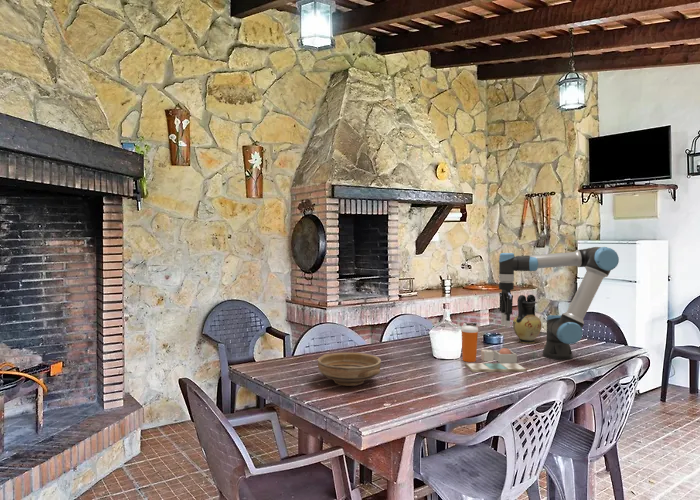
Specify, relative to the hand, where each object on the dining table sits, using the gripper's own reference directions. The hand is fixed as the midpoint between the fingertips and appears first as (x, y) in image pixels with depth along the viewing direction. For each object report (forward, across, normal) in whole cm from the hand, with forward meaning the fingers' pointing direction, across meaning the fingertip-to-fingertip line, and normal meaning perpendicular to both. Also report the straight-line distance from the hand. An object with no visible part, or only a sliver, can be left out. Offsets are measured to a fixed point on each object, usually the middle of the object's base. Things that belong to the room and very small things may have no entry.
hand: (505, 325), depth 265 cm
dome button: (+18, 0, 0) cm, 18 cm away
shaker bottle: (+19, -1, -19) cm, 27 cm away
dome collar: (+19, 0, 0) cm, 19 cm away
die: (+19, -2, -9) cm, 21 cm away
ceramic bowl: (+19, +37, -85) cm, 95 cm away
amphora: (+19, -48, +32) cm, 61 cm away
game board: (+19, +16, -11) cm, 27 cm away
